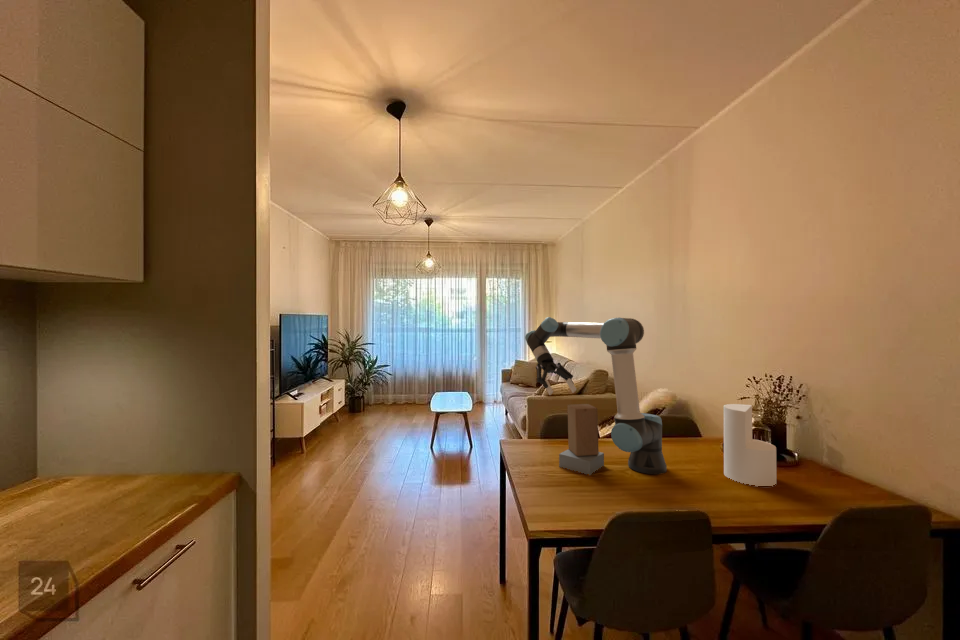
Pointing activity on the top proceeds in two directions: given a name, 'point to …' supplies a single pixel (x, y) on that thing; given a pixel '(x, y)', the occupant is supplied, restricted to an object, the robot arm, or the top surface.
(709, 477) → the top surface
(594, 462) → the slate base block
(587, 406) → the wooden block
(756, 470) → the white stepped column
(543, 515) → the top surface
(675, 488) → the top surface
